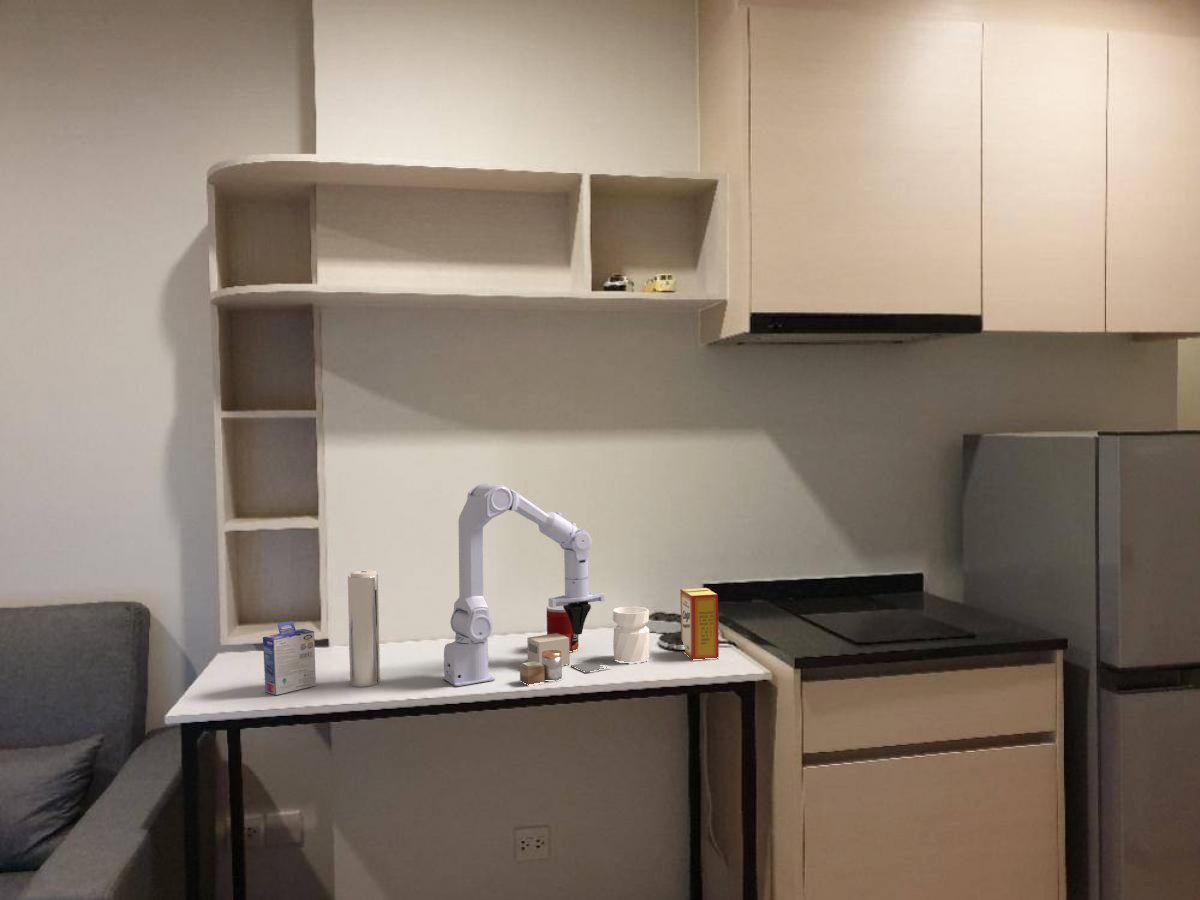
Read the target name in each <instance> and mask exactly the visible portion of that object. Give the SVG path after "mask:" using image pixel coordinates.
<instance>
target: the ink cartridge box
mask: <svg viewBox="0 0 1200 900" xmlns="http://www.w3.org/2000/svg"><path fill="white" fill-rule="evenodd" d="M284 626H291V627H287V628H283V627H284ZM277 628H278V633H276V634H271V635H265V636H262V648H263V649H262V651H263V665H264V667H263V668H264V671H263V672H264V686H265V687H264V689H265V690H264V691H266V693H268V694H270V693H271V694H270V695H273V696H279V695H282V694H287V693H290V692H291V693H292V692H295V691H299V690H304V689H307V688H311V687H315V686H317V681H316V652H315V651H316V650H315V631H314V630H309V629H306V628H300V629H296V627H295V624H294V621H293V620H290V621H285V622H284V621H282V622H279V623H277Z"/></svg>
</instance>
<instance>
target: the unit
mask: <svg viewBox="0 0 1200 900" xmlns="http://www.w3.org/2000/svg"><path fill="white" fill-rule="evenodd" d="M526 641H527V662H533V661H536V662H538V663H540V664H542V652H543V651H547V650H558V651H561V652H562V665H566V664H570V653H569V638H568V637H566V636H563V635H560V634H558V633H555V634H548V635H547V634H544V635H537V636H536V635H535V636H531V637H530V636H529V637H527V640H526Z"/></svg>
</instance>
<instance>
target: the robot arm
mask: <svg viewBox="0 0 1200 900" xmlns="http://www.w3.org/2000/svg"><path fill="white" fill-rule="evenodd" d="M507 511H510V512H512V511H513V512H515V513H517V514H519V515H520V516H522V517H524V518H525V519H528V520H529V521H531V522H533V523H535V524H536V525H538V529H539V532H540V533H541V534H542V535H544V536H546V537H548V538H549V539H550V540H552V541H554V542H555V543H557V544H559V546H560V548H561V549H562V550H563V551H564V554H563V555H564V560H563V561H564V595H559V596H556V597H549V598H548V606H549V607H552V608H555V607H557V606H563V608H564V610H565V611H566V613H567V615H568V617H569V620H570V623H571V626H572V630H573V634H576V635H578V636H579V635H582V634H583V629H584V625H585V622H586V619H587V616H588V615H589V612H590V611H591V608H592V605H591V604H590V603H593V602H604V601H605V593H604V592H601V591H600V592H599V591H598V592H589V557H590V550H591V549H592V547H593V543H594V540H593V538H591V535H590V532H589V531H587V530H586V529H585V528H578V527H577V523H576V522H573V521H572V522H571V521H569V520H567V519H566V518H564V517H563V514H562V513H561V512H559V511H548V512H545V511H543V510H542V509H541V508H539V507H538V506H537V505H535V504H534V503H532V502H531V501H529V500H528V499H527V498H526V497H524V496H522V494H519V493H518V492H517V491H515V490H513V489H510V488H508V486H506V485H502V484H499V485H498V484H497V485H496V484H487V483H479V484H477V485H476V486H475V487H473V488H472V489H471V490H470V491H468V492H467V499H466V502H465V503H464V506H463V508H462V510H461V512H460V515H459V517H458V578H459V579H458V582H459V583H458V586H459V587H458V588H459V589H458V591H459V595H458V596H459V597H458V598H457V599H456V600H455V602H454V603H453V612H452V614H451V617H450V628H451V630H452V631H453V632H454V633H455V637H454V641H452V642H450V643H449V642H448V643H446V644H445V645H444V649H443V671H444V672H443V675H444V676H442V679H443V680H444V681H447V682H448V683H450V684H451V685H453V686H454V687H460V686H461V687H462V686H468V685H472V684H473V685H474V684H479V683H484V682H490V681H495V680H496V677H495V676H493V675H491V674H489V646H488V645H489V643H488V642H489V639H488V638H489V637H490V635H491V634H492V631H493V621H492V619H491V616H490V613H489V606H488V604H487V602H486V600H485V598H484V527H485V526H486V525H487V524H488V523H489V522H490V521H491V520H492V519H494V518H496V517H498V516H500V515H502V514H504V513H506V512H507Z"/></svg>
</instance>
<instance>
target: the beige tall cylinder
mask: <svg viewBox="0 0 1200 900" xmlns="http://www.w3.org/2000/svg"><path fill="white" fill-rule="evenodd" d="M377 573H378V572H377V570H374V569H359V570H353V571H351V572H350V575H349V576H347V597H348V598H347V599H348V602H347V604H348V610H347V611H348V612H347V613H348V646H349V649H348V650H349V655H348V656H349V657H348V658H349V684H350V686H352V687H355V688H365V687H367V686H368V687H373V686H376V685H378V684H379V683H380V682H381V672H380V671H381V667H380V666H381V665H380V664H381V661H380V660H381V659H380V658H381V657H380V656H381V655H380V626H379V625H380V616H379V575H378V574H377ZM372 685H373V686H372ZM368 687H367V688H368Z"/></svg>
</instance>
